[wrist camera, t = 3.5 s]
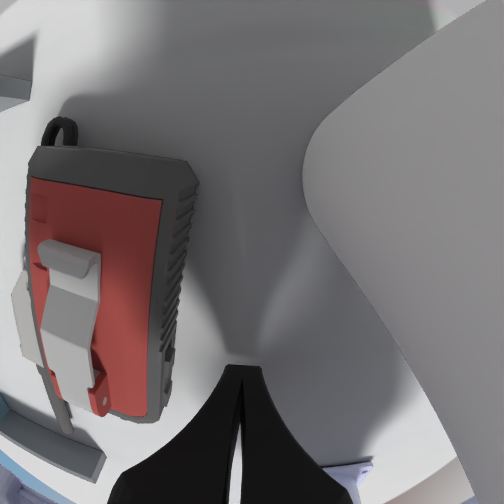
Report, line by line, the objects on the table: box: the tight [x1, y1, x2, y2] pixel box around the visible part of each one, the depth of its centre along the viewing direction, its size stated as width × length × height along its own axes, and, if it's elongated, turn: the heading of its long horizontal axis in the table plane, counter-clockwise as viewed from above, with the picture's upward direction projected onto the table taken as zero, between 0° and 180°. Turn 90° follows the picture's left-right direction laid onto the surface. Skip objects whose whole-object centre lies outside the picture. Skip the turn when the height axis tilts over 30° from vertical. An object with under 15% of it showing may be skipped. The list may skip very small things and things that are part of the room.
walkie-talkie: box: [11, 116, 200, 435], centre depth 10 cm, size 9×4×20 cm
